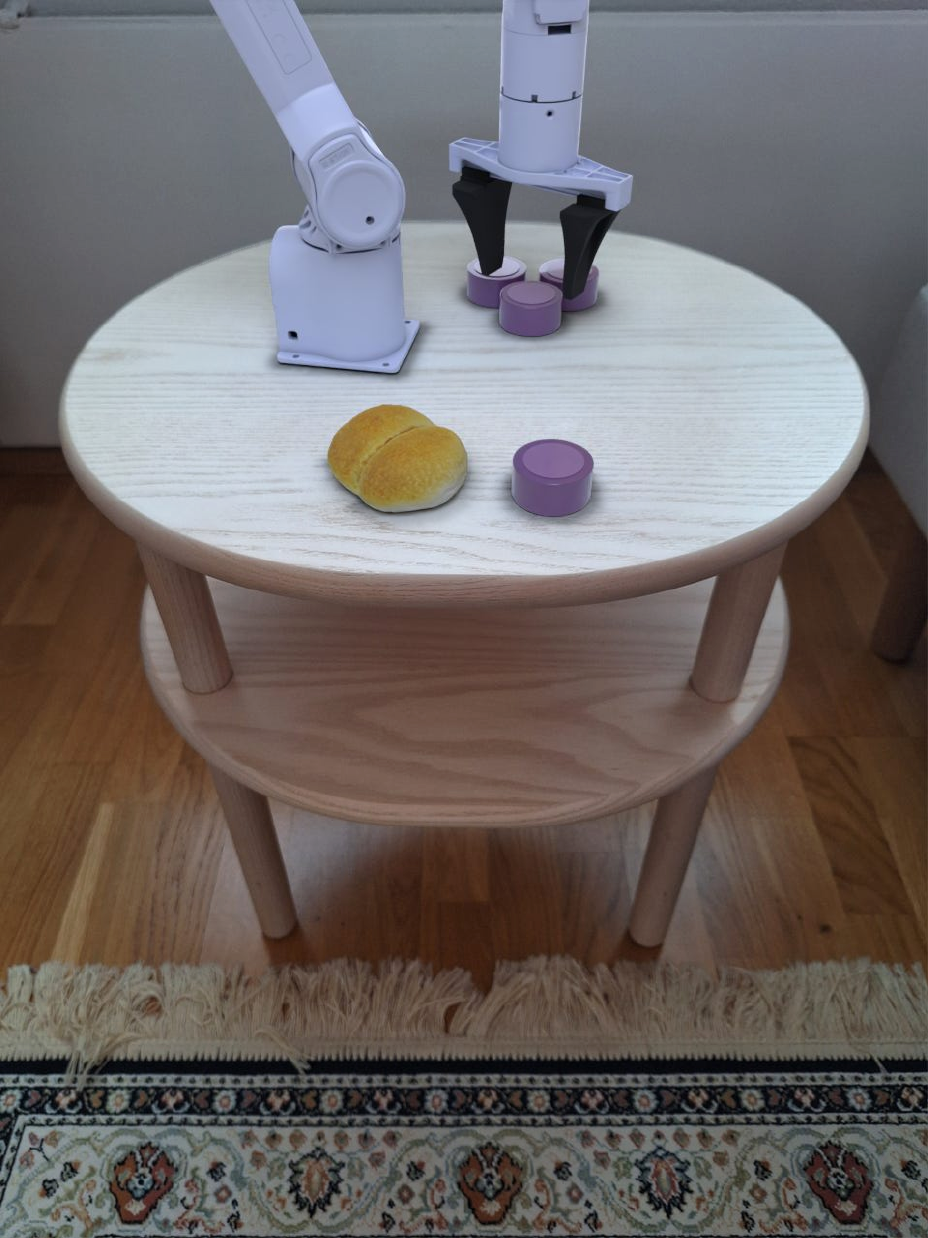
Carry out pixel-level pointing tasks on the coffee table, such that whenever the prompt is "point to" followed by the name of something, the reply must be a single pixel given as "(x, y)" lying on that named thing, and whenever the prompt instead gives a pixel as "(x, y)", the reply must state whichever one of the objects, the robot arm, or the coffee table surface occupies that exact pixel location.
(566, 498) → the plum dish front
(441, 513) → the coffee table surface
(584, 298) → the plum dish
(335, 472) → the bread roll
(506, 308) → the plum dish
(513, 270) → the purple short cylinder
